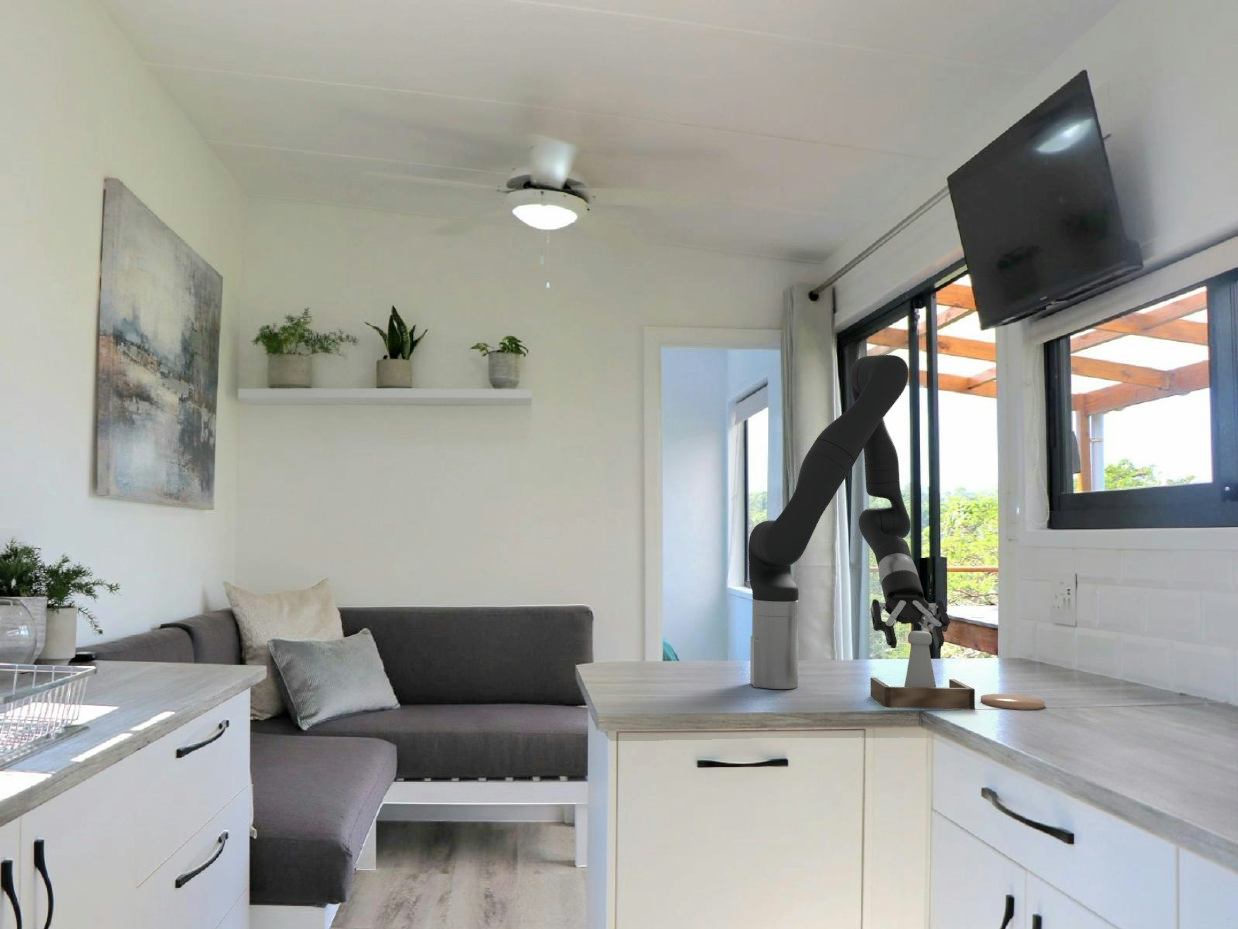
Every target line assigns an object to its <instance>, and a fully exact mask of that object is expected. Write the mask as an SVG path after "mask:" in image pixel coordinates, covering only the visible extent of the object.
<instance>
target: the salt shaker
mask: <svg viewBox="0 0 1238 929" xmlns="http://www.w3.org/2000/svg"><path fill="white" fill-rule="evenodd" d="M907 642H908V644H911V646H910V649H909V650H910V652H909V657H908V663H907V669H906V674H905V681H904V686H903V687H933V688H937V685H936V678H935V674H934V670H933V662H932V658H931V652H930V647H929V645H931V644H932V642H933V636H932V634H931V633H930V632H928V631H925V630H924V631H923V630H913V631H910V632H909V633H908V635H907Z"/></svg>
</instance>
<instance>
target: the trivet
mask: <svg viewBox="0 0 1238 929" xmlns="http://www.w3.org/2000/svg"><path fill="white" fill-rule="evenodd" d="M980 703H981V704H984V705H987V706H991V707H995V708H1001V709H1010V710H1012V709H1013V710H1023V711H1024V710H1028V711H1029V710H1040V709H1044V708H1045V707H1046V704H1045V703H1046V702H1045V701H1044V700H1043V699H1041V698H1038V697H1033V696H1030V695H1029V696H1026V695H1020V694H1011V693H1010V694H1009V693H987V694H982V695H981V696H980Z"/></svg>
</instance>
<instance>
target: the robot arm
mask: <svg viewBox="0 0 1238 929" xmlns="http://www.w3.org/2000/svg"><path fill="white" fill-rule="evenodd" d="M909 374H910V371H909V366H908V364H907V362H906V360H904V358H902V357H900V356H899V355H894V354H877V355H876V354H875V355H866V356H862V357H860V358H858V359H857V360H856V361H855V362H854V363H853V365H852V367H851V370H850V376H849V377H850V388H851V393H852V399H853V402H854V403H853V404H852V405H851V406H850V407H849V408H848V409H846V411H845V412H843V413H842V414H841V415H840V416H838V417H837V418H836V419H835V420H834V421H831V423H830V424H829V425H827V426H826V427H825V428H824V430H822V431H821V432H820V434H819V435H818V436H817V437H816V439H815V440H814V442H813V444H812V445H811V447H810V449H809V450H808V451H807V453H806V455H805V457H804V459H803V461H802V464H801V465H800V466H801V467H800V468H799V473H798V478H797V482H796V486H795V490H794V492H793V494H792V496H791V498H790V500H789V501H788V503H787V505H786V506H785V507H784V509H782V510H783V511H782V512H780V514H779V515H778V517H777V518H776V519H775V520H764V521H762V522H759V523H758V524H756V526H754V528H753V529H752V530H751V532H750V535H749V539H748V546H747V547H748V551H747V552H748V553H747V554H748V579H749V585H750V588H751V591H752V594H751V597H752V600H751V601H752V611H751V612H752V613H751V614H752V615H751V616H752V618H751V621H752V622H751V623H752V624H751V625H752V626H751V628H752V629H751V635H750V658H749V659H750V664H749V665H750V666H749V667H750V672H749V673H750V674H749V675H750V678H749V680H750V684H751V685H752V687H753V688H761V689H762V688H763V689H771V690H787V689H789V690H790V689H795V688H798V687H799V594H800V593H799V588H798V586H797V584H796V583H795V581H794V579H793V576H792V567H791V565H793V564H795V563H796V562H798V560H800V558H801V557H802V556H803V554H804V552H805V551H806V548H807V546H808V544H809V542H810V540H811V539H812V536H813V534H814V532H815V529H816V528H817V526H818V523H819V521H820V520H821V517H822V516H823V514H824V512H825V511H826V509H827V507H828V506H829V504H830V503H831V501H832V500H833V499H834V496H836V493H837V492H838V490H839V489H840V487H841V485H842V484H843V482H844V481H845V480H846V478H847V476H848V475H849V473H850V472H851V470H852V469H853V466H854V464H855V463H856V462H857V460H858V458H859V456H860V454H861V452H863V456H864V457H863V458H864V475H865V476H864V477H865V488H866V489H865V490H866V493H867V495H868V496H870V497H874V498H880V499H886V500H888V501H889V503H890V506H883V507H882V506H881V507H870V508H866V509H864V510H863V511H862V512H861V513H860V515H859V517H858V526H859V527H858V528H859V531H860V534H861V535H862V537H863V539H864V541H866V543H867V544H868V546H869V547H870V549H871V551H872V552H873V554H874V557H875V560H876V564H877V568H878V578H879V583H880V585H881V590H882V593H883V594H882V595H883V598H884V602H880V601H879V600H878V599H876V598H875V599H873V600H872V601H871V605H870V606H871V607H870V614H871V621H872V628H873V630H874V631H875V632H879V631H882V632H883V633H884V636H885V641H886V644H887V645H888V646H890V648H891V649H896V648H897V644H898V641H897V640H898V639H897V636H896V632H895V629H894V628H895V627H896V625H897V624H898V623H900V624H901V625H907V624H911V625H918V624H919V625H920V626H921V627H923V628H924V629H927V630H929V631H930V632H931V633H932V634H931V636H932V640H933V642H934V646H935V649H936V650H941V648H942V647H944V643H945V636H944V633H946V632H948V630H949V626H950V623H951V620H950V617H949V615H948V612H947V610H946V608H945V605H944V602H943V601H942V600H940V599H937V600H936V602H932V603H931V602H930V603H929V602H928V601H927V600H926V599H925V595H924V590H923V586H922V583H921V580H920V577H919V573H918V570H917V567H916V565H915V563H914V561H913V557H912V553H911V550H910V546H909V544H908V542H907V540H906V539H904V538H906V537H907V536H908V535H909V534H910V531H911V525H912V524H911V520H910V519H911V518H910V516H909V513H908V510H907V508H906V505H905V502H904V499H903V494H902V491H901V483H900V481H901V480H900V465H899V464H900V462H899V456H898V452H897V449H896V446H895V443H894V441H893V439H892V437H891V435H890V433H889V430H888V428H887V425H886V422H885V419H884V418H885V416H886V415H887V413H888V412H889V411H890V410H891V408H892V407H893V405H894V404H895V403H896V402H897V401H898V400H899V399H900V397H901V396H902V394H903V393H904V392H905V389H906V386H907V385H908V382H909ZM883 611H885V612H886V613H887V614H888V615H889V617H888V618H887V619H886V620H885V621H883V619H882V613H883ZM934 616H935V617H936V618H935V617H934ZM943 632H944V633H943Z"/></svg>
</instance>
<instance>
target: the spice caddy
mask: <svg viewBox="0 0 1238 929" xmlns="http://www.w3.org/2000/svg"><path fill="white" fill-rule="evenodd" d="M948 683H949V684H948V685H949V686H948V687H936V688H933V687H904V686H889V684H886V683H885V682H883V681H882V680H880V679H879V678H877V677H870V694H869V695H870V697H871V698H872V699H874V700H875V701H876V702H878V703H879V704H880V705H882V706H883V707H885V708H907V709H910V708H915V709H956V710H959V709H960V710H961V709H962V710H976V707H975V705H976V702H975V701H976V696H975V695H976V693H975V692H976V690H975V688H974V687H971V686H969V685H967V684H966V683H963V682H961V681H959V680H957V679H954V678H949V679H948Z"/></svg>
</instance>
